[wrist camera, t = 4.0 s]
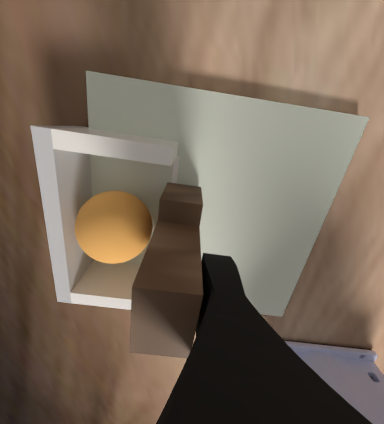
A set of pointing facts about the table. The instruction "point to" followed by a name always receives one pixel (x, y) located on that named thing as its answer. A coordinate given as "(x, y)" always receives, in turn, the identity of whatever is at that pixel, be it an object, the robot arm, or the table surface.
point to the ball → (113, 227)
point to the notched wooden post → (170, 278)
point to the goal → (76, 197)
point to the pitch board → (232, 171)
